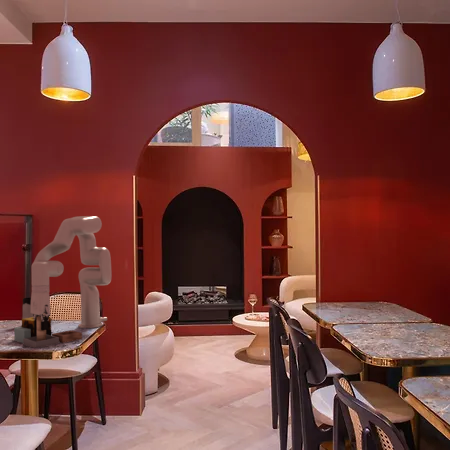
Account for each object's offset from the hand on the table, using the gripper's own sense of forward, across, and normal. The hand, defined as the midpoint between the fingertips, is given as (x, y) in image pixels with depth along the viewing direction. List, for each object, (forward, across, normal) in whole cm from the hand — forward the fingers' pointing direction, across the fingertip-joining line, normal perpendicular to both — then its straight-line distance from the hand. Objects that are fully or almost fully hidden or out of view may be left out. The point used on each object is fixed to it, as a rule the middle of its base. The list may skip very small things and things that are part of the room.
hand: (41, 328), depth 223 cm
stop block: (+7, -13, -2) cm, 15 cm away
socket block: (+7, 0, +12) cm, 14 cm away
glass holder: (+7, -51, +22) cm, 56 cm away
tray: (+7, 0, 0) cm, 7 cm away
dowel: (+6, 0, 0) cm, 6 cm away
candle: (+7, -13, +4) cm, 16 cm away
